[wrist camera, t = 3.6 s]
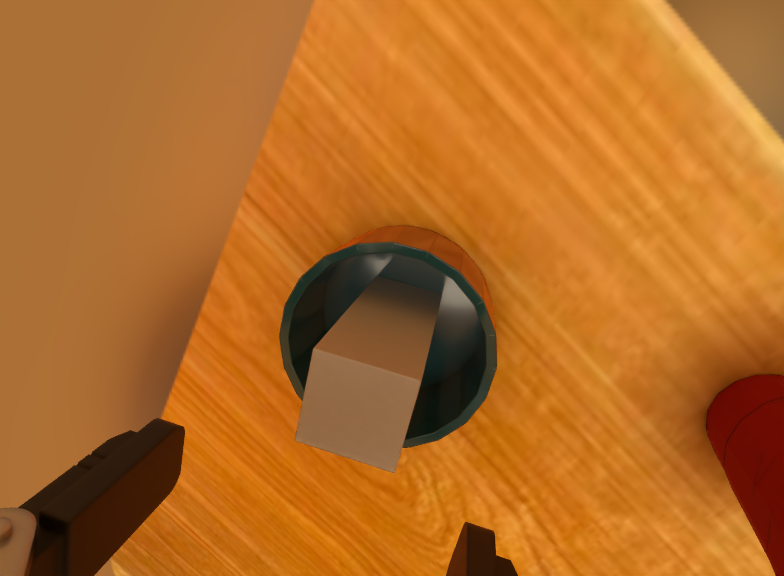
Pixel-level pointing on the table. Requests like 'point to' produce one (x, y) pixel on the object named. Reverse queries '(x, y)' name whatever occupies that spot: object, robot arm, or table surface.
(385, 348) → the block
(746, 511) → the plastic cup
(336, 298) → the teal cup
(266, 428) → the table surface
